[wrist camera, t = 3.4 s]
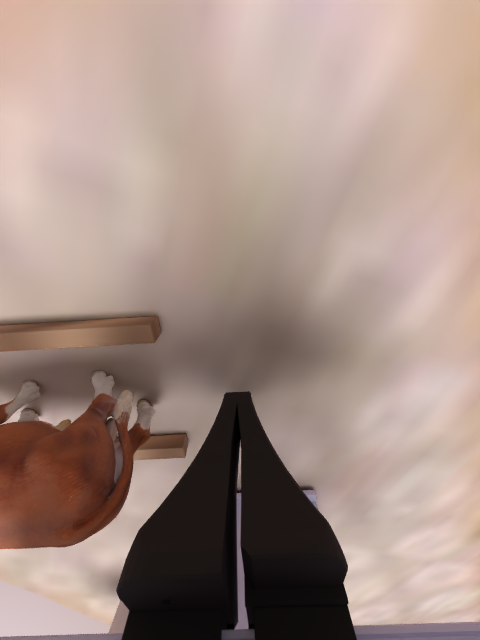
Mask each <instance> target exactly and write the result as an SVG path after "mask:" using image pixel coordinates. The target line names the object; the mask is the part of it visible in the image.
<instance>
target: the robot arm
mask: <svg viewBox="0 0 480 640" xmlns="http://www.w3.org/2000/svg"><path fill="white" fill-rule="evenodd" d="M240 441H241V493H237V477H238V463H239V448H240ZM316 499H317V497H316V493H315V492H314V491H313V490H302V489H301V488H300V487H299V485H298V484H297V483H296V481H295V480H294V478H293V477H292V476H291V474H290V473H289V471H288V470H287V469H286V467H285V466H284V464H283V463H282V461H281V459H280V458H279V456H278V455H277V453H276V451H275V450H274V448H273V446H272V444H271V443H270V441H269V439H268V437H267V435H266V433H265V431H264V429H263V427H262V425H261V423H260V420H259V418H258V416H257V413H256V411H255V408H254V405H253V402H252V398H251V393H250V392H249V391H248V392H229V393H225V394H224V398H223V402H222V405H221V407H220V410H219V412H218V415H217V417H216V419H215V422H214V424H213V426H212V428H211V430H210V432H209V434H208V436H207V438H206V440H205V442H204V444H203V445H202V447H201V449H200V451H199V452H198V454H197V456H196V457H195V459H194V460H193V462H192V463H191V465H190V466H189V468H188V469H187V471H186V472H185V474H184V475H183V477H182V478H181V480H180V481H179V482H178V484H177V485H176V486H175V487H174V489H173V490H172V491H171V493H170V494H169V495H168V497H167V498H166V499H165V500H164V502H163V503H162V504H161V505H160V507H159V508H158V509H157V510H156V511H155V512H154V513H153V515H152V516H151V517H150V518H149V519H148V520H147V522H146V523H145V524H144V525H143V526H142V527H141V528H140V530H139V531H138V533H137V535H136V537H135V539H134V542H133V544H132V546H131V549H130V551H129V553H128V556H127V558H126V561H125V564H124V567H123V570H122V574H121V577H120V580H119V583H118V586H117V590H116V591H117V594H118V596H119V599H120V600H121V601H122V602H123V603H124V605H125V606H126V607H127V608H128V610H129V614H128V617H127V621H126V624H125V628H124V632H123V633H110V634H79V635H51V636H50V635H48V636H16V637H0V640H480V622H459V623H427V624H396V625H364V626H353V624H352V620H351V617H350V613H349V609H348V606H347V604H348V598H347V595H346V591H345V588H344V584H343V582H344V579H345V576H346V574H347V571H348V565H347V562H346V559H345V556H344V554H343V551H342V549H341V547H340V544H339V542H338V540H337V538H336V536H335V534H334V532H333V530H332V528H331V526H330V524H329V523H328V521H327V520H326V519H325V518H324V516H323V515H322V514H321V513H320V512H319V511H318V507H317V504H316Z"/></svg>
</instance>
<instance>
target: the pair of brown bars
mask: <svg viewBox="0 0 480 640" xmlns="http://www.w3.org/2000/svg"><path fill="white" fill-rule="evenodd" d="M160 334H161V330H160V326H159V322H158V318H157V316H150V317H133V318H117V319H100V320H83V321H67V322H50V323H33V324H16V325H0V352H1V351H18V350H36V349H53V348H70V347H88V346H105V345H123V344H140V343H155V342H156V340H157V339H158V337H159V336H160ZM118 439H119V437H118V438H116V440H115V442H116V441H117V440H118ZM115 442H114V443H115ZM187 447H188V441H187V437H186V434H179V435H158V436H150V438H149V440H148V441H147V442H146V443H144V444H143V445H141V446H140V447H139V448H138V449H137V451H136V452H135V454H134V455H133V460H145V459H166V458H185V456H186V452H187Z"/></svg>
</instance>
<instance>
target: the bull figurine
mask: <svg viewBox="0 0 480 640" xmlns="http://www.w3.org/2000/svg"><path fill="white" fill-rule="evenodd" d="M91 382H92V384H93V387H94V388H95V395H94V399H93V401H92V404H91V405H90V406H89V408H88V409H87V411H86V412H85V413H84V414H83V415H81V416H80V417H79V418H78V419H76V420H75V421H74V422H73V423H72V424H71V421H70V420H69V419H67V420H63V421H62V422H60V424H59V425H57V426H56V427H55V426H53V425H52V424H50V423H47V422H43V421H39V418H38V415H39V414H35V412H34V411H33V410H31V409H24V410H22V411H21V414H20V419H19V420H18V422H12V423H7V424H3V425H0V549H23V548H40V547H68V546H71V545H75V544H77V543H79V542H82V541H84V540H85V539H87V538H88V537H90V536H92V535H93V534H95V533H97V532H98V531H100V530H101V529H103V528H104V527H106V526H107V525H108V524H109V523H110V522H111V521H112V520H113V519H114V518H116V516H117V515H118V513H119V512H120V510H121V508H122V507H123V505H124V502H125V500H126V498H127V495H128V492H129V487H130V483H131V477H132V472H133V455H134V454H135V452H136V451H137V449H138V448H139V447H140V446H141V445H143V444H144V443H146V442H147V441H148V440H149V438H150V423H151V419H152V416H153V415H154V414H155V410H154V408H153V406H151V405H150V403H149V402H148V401H146V400H141V401H138V403H137V412H138V418H137V421H136V423H135V424H134V426H133V427H132V429H130V430H129V431H128V429H127V426H128V421H129V418H130V414H131V407H132V401H133V394H132V393H131V391H130V390H124V391H123V392H122V393H121V394H120V396H119V397H118V399H114V398H113V395H112V387H113V386H114V385H115V381H114V380H113V376H112V375H110V376H108V377H107V375H106V373H105V372H103V371H95V372H93V373H92V375H91ZM40 395H41V394H40V392H39V386H37V384H36V382H34V381H32V380H26V381H24V382H23V384H22V388H21V391H20V392H19V394H18V395H17V397H16V398H15V399H14V400H12V401H11V402H9V403H7V404H4V405H0V424H2V423H4V422H5V421H7V420H8V419H9V418H10V417H11V416H12V415H13V414H14V413H15V412H16V411H17V410H18V409H20V408H21V407H22V406H24V405H25V404H27V403H29V402H31V401H33V400H35V399H38V398H39V397H40ZM110 416H112V417H113V418H109V419H108V420H107V418H108V417H110ZM106 420H107V421H106ZM117 431H118V435H119V439H118V440H117V441H116V442H115V440H116V436H117ZM114 442H115V443H114Z"/></svg>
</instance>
